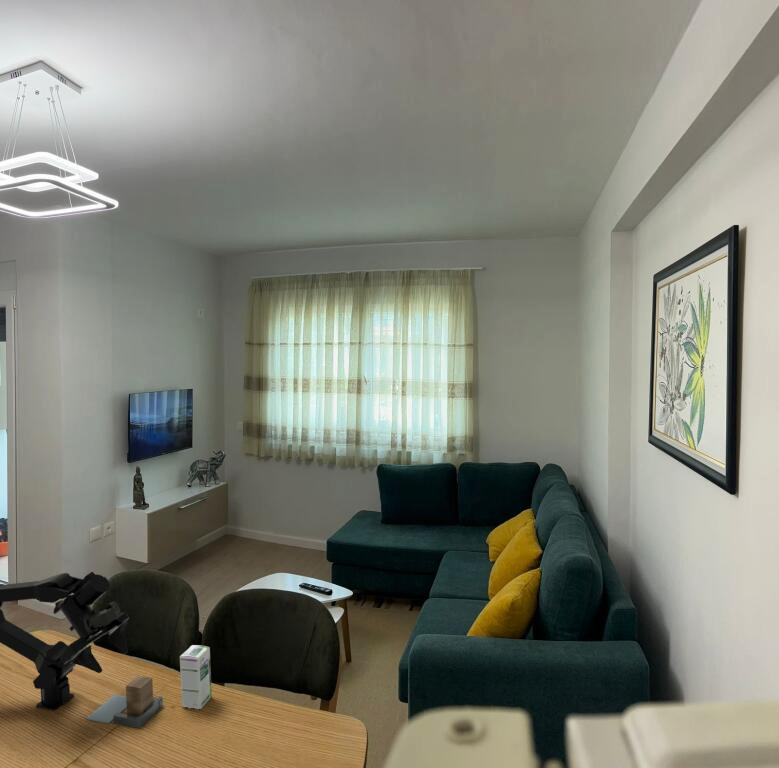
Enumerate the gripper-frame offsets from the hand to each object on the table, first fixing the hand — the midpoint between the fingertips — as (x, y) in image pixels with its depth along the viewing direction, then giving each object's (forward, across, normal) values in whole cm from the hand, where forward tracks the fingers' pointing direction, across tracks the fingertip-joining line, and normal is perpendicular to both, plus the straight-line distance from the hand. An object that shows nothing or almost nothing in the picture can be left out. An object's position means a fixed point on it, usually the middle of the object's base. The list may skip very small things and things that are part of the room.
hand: (114, 662), depth 142 cm
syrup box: (+23, +8, -5) cm, 25 cm away
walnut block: (+15, 0, +3) cm, 15 cm away
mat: (+9, 0, +10) cm, 13 cm away
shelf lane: (+14, 0, +4) cm, 15 cm away
